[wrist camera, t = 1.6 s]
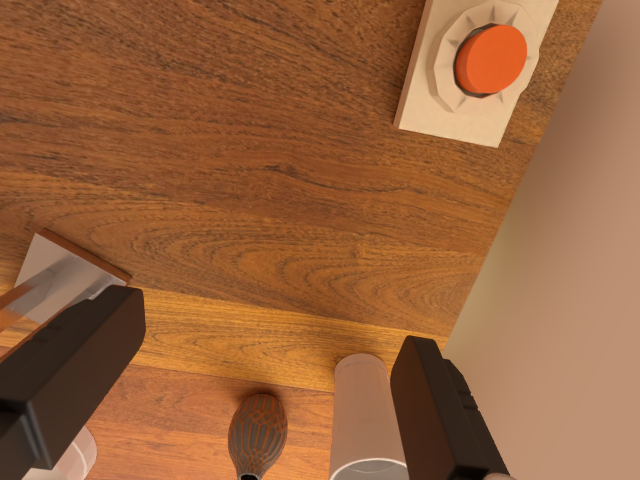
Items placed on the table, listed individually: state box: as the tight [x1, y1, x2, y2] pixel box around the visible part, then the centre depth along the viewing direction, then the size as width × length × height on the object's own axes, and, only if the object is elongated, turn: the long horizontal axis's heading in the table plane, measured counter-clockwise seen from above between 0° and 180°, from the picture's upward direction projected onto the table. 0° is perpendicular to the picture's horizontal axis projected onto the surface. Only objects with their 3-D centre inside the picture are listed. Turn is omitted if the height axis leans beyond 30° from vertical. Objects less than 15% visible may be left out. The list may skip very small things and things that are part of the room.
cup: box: [329, 353, 409, 480], centre depth 32 cm, size 8×8×12 cm
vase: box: [228, 394, 288, 480], centre depth 36 cm, size 7×7×9 cm
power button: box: [456, 25, 527, 93], centre depth 19 cm, size 4×4×2 cm
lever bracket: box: [0, 228, 132, 363], centre depth 27 cm, size 11×9×14 cm
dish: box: [22, 425, 97, 480], centre depth 42 cm, size 22×22×5 cm
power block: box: [393, 0, 559, 148], centre depth 22 cm, size 10×8×4 cm
